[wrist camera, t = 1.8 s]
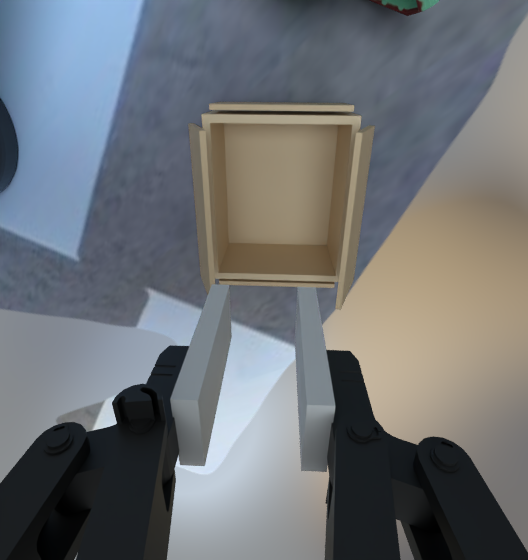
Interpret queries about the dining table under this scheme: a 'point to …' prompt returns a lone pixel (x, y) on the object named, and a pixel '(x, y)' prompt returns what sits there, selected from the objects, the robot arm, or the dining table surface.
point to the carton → (279, 190)
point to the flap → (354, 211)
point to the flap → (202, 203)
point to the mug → (407, 5)
